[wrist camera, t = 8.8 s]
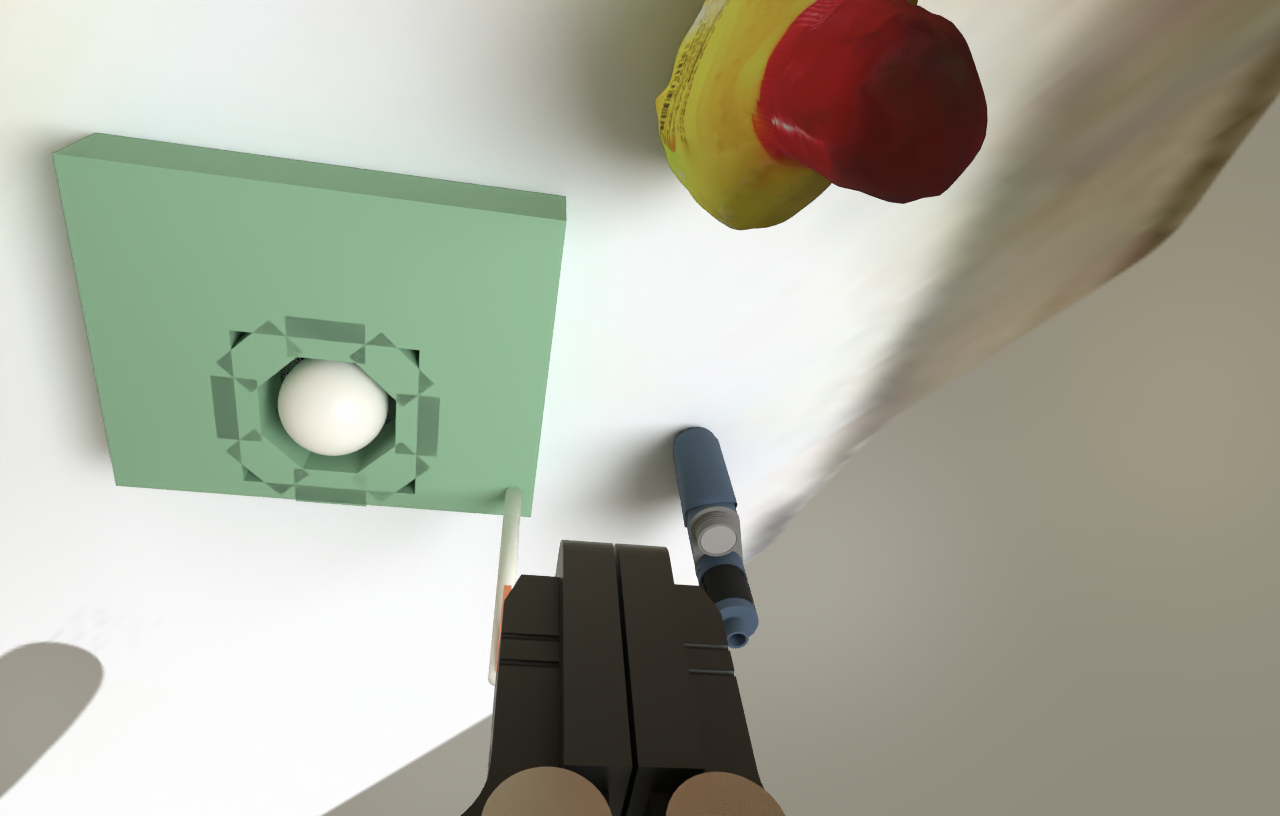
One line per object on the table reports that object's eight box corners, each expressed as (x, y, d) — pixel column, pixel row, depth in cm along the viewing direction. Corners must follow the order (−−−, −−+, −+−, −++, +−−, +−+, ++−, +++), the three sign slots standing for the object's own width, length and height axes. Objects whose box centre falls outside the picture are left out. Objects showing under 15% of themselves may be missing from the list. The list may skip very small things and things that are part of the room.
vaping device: (678, 502, 48) (710, 663, 38) (668, 426, 45) (700, 578, 35) (722, 495, 48) (766, 655, 38) (715, 419, 45) (761, 569, 35)
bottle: (765, -158, 32) (1003, -238, 15) (894, -66, 34) (1238, -43, 17) (619, 127, 37) (671, 315, 20) (740, 192, 39) (881, 414, 22)
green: (95, 132, 35) (-186, 267, 22) (565, 196, 38) (568, 348, 25) (147, 447, 43) (-37, 685, 30) (532, 479, 46) (520, 708, 33)
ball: (287, 452, 42) (299, 354, 42) (389, 461, 42) (400, 365, 43) (257, 448, 37) (271, 338, 37) (372, 459, 38) (385, 350, 38)
